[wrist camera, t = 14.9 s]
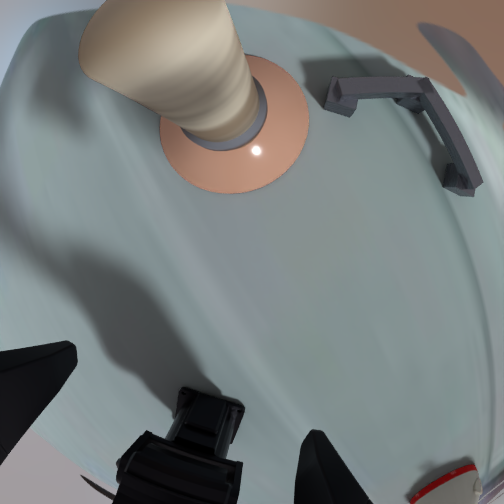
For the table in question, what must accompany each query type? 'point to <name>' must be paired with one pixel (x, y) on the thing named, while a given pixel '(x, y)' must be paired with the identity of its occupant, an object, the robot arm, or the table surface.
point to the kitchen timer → (452, 488)
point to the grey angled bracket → (417, 100)
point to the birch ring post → (178, 67)
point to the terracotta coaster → (254, 154)
